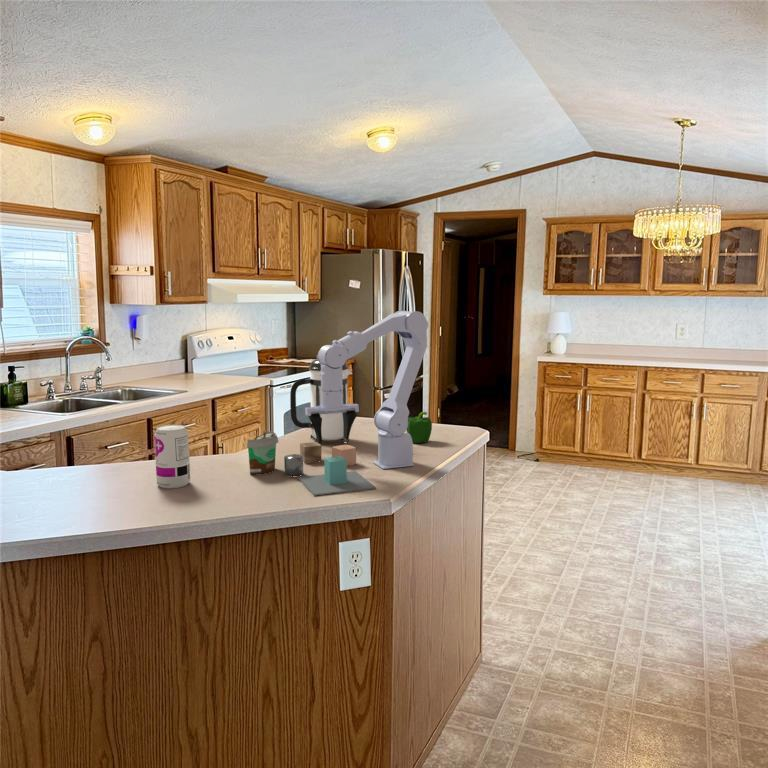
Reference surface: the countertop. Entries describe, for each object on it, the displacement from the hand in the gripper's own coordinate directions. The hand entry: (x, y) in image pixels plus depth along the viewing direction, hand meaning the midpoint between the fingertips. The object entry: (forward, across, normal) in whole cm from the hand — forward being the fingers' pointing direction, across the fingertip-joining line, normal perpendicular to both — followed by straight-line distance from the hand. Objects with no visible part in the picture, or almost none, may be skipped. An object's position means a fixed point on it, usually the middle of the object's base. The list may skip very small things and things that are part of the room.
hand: (332, 439), depth 181 cm
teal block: (+9, +2, +9) cm, 13 cm away
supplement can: (+9, +41, -6) cm, 43 cm away
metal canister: (+9, +10, -3) cm, 14 cm away
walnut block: (+10, +2, -15) cm, 18 cm away
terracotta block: (+10, -6, -8) cm, 14 cm away
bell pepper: (+10, -37, -24) cm, 46 cm away
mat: (+9, +2, +10) cm, 14 cm away
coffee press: (+10, -9, -37) cm, 39 cm away
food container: (+10, +16, -10) cm, 21 cm away
